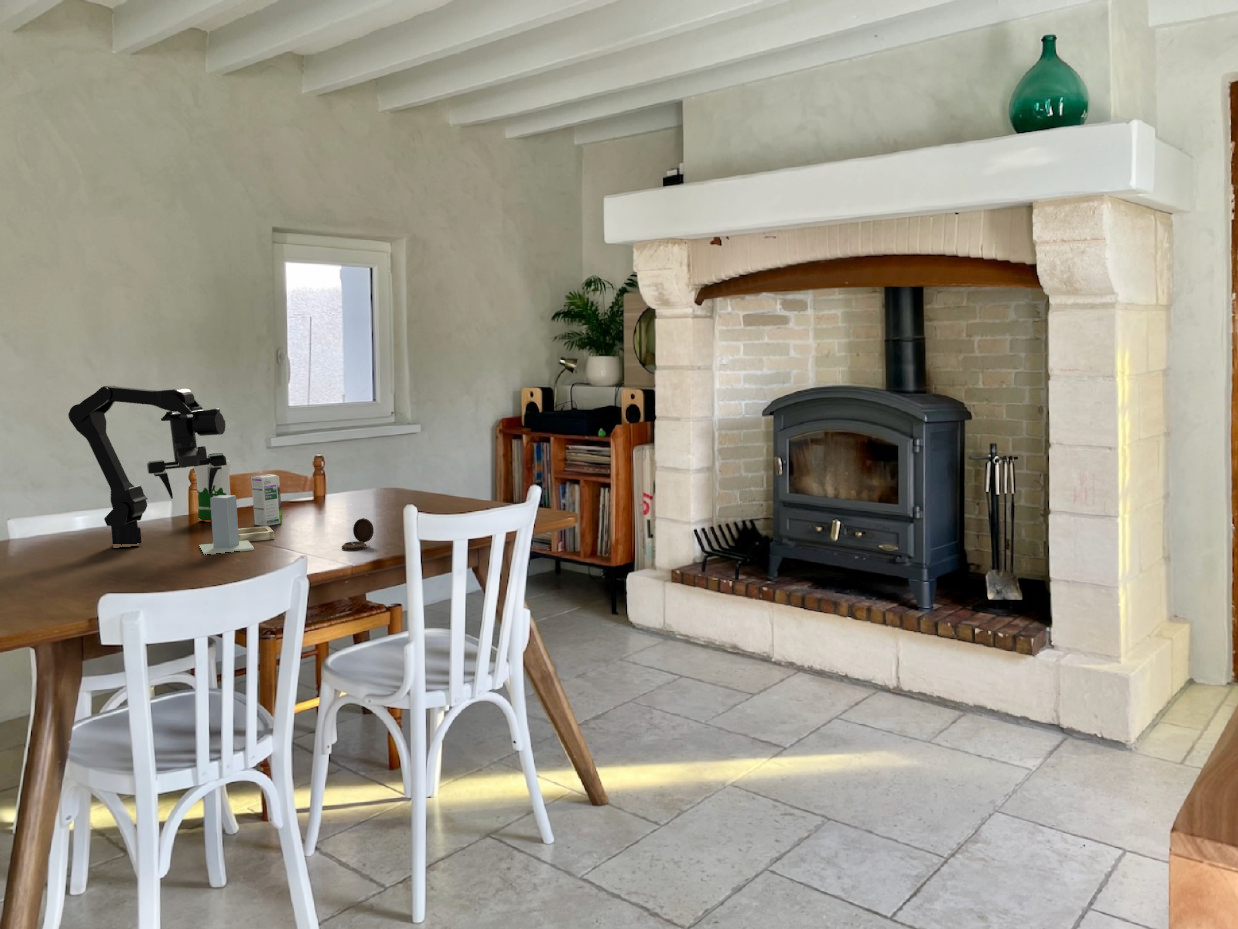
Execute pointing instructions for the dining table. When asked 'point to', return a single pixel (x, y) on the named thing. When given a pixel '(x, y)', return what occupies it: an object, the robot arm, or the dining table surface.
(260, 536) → the holder
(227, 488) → the milk carton
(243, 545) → the plate
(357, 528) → the compass
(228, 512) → the link block
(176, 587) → the dining table surface
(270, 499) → the syrup box
